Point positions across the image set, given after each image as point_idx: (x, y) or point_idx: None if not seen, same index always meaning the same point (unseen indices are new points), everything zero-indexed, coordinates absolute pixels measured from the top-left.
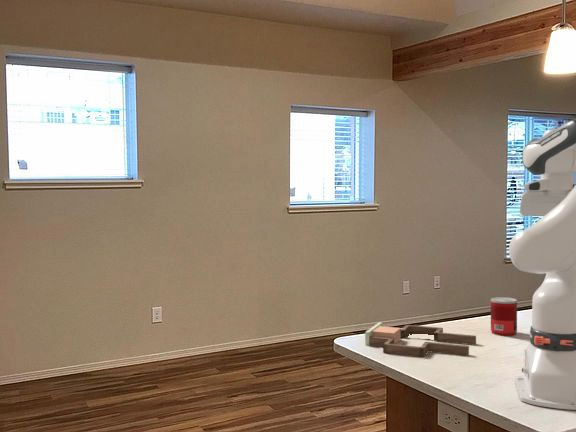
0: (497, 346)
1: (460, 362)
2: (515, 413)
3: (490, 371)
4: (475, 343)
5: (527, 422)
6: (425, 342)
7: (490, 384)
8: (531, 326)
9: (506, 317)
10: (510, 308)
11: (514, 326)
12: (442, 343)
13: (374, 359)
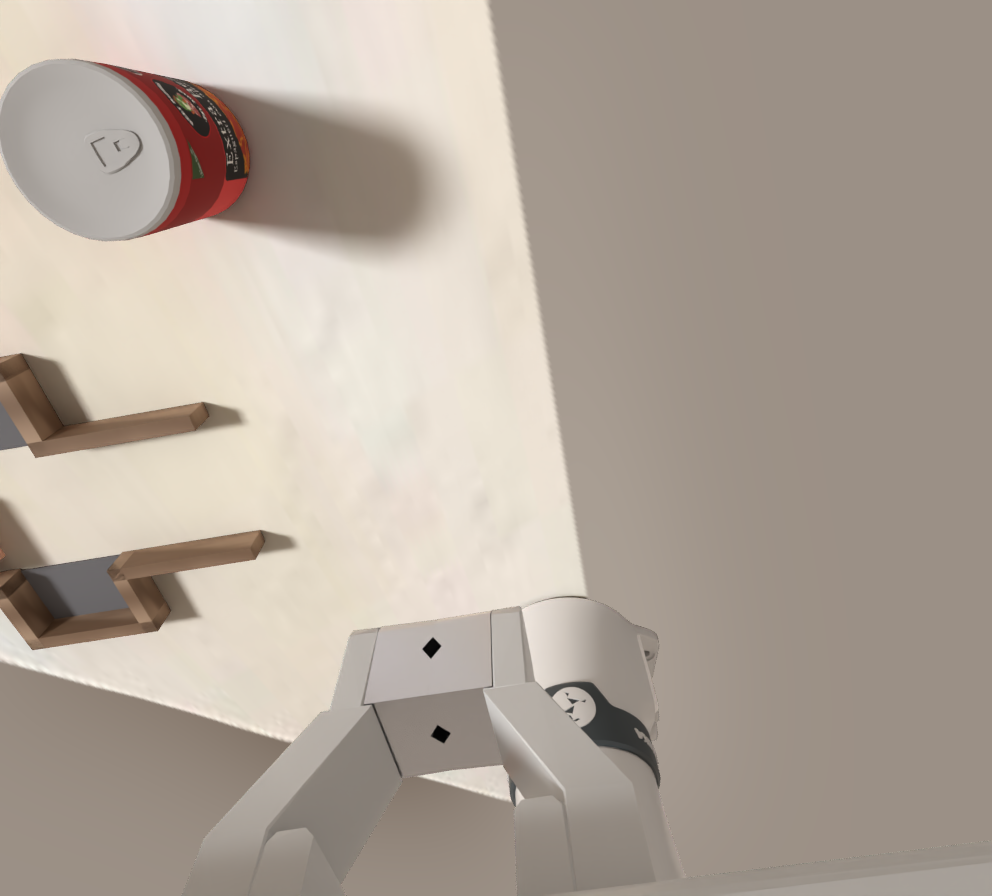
0: (284, 394)
1: (283, 603)
2: None
3: None
4: (206, 417)
5: None
6: (113, 578)
7: None
8: (512, 798)
9: (191, 219)
10: (183, 210)
11: (236, 175)
12: (164, 563)
13: (85, 681)
